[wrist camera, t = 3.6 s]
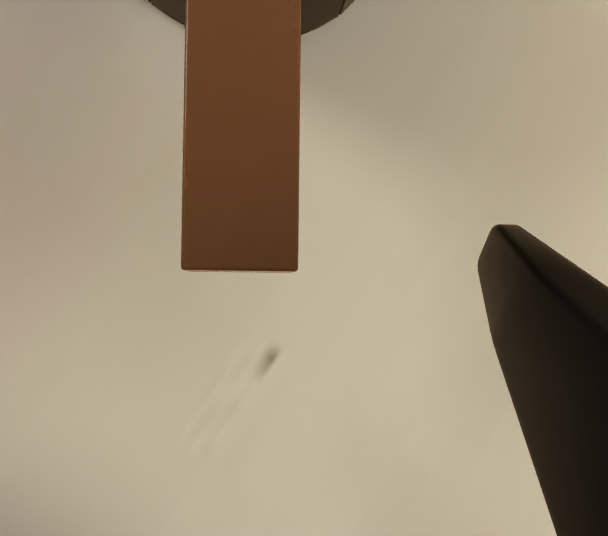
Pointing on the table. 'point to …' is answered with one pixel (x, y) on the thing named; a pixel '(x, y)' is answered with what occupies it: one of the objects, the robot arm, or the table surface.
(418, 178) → the table surface
